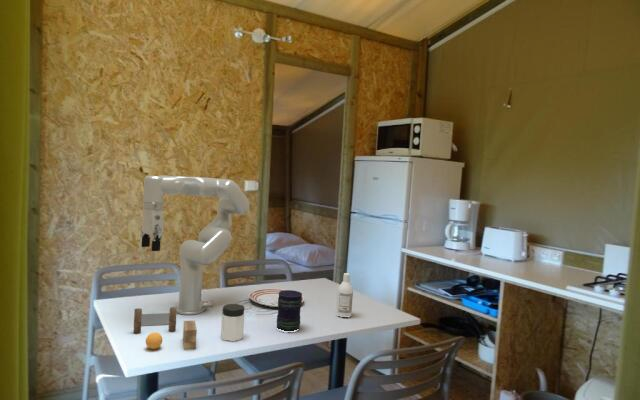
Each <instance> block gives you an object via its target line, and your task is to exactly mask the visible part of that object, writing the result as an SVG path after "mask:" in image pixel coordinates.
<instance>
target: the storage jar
mask: <svg viewBox="0 0 640 400" xmlns="http://www.w3.org/2000/svg"><path fill="white" fill-rule="evenodd" d="M283 290H284V291H280V292H279V297H278V308H277V311H278V312H277V316H276V327H277V328H278V329H281V330H284V331H294V330H297V329H299V328H300V327H301V308H302V303H303V302H302V296H303V293H302V292H300V291H298V290H292V289H290V290H289V289H283Z"/></svg>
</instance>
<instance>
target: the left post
mask: <svg viewBox="0 0 640 400" xmlns="http://www.w3.org/2000/svg"><path fill="white" fill-rule="evenodd" d="M142 312H143V309H142V308H139V307H138V308H134V312H133V314H134V315H133V316H134V317H133V334H134V335H139V334H141V333H142V326H141V318H142V314H143V313H142Z"/></svg>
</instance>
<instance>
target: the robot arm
mask: <svg viewBox="0 0 640 400" xmlns="http://www.w3.org/2000/svg"><path fill="white" fill-rule="evenodd" d="M143 181H144V183H143V184H144V185H143V195H142V196H143V197H142V198H143V201H142V211H143V213H142V222H141V247H142V248H147V247H150V246H151V252H160V251H161V241H162V237H163V236H162V235H164V234H163V233H164V214H163V211H164V210H163V209H164V194H165V195H166V194H167V195H174V196H176V195H179V194H180V195H185V196H192V197H209V198H211V197H212V198H213V197H214V198H219V200H218V202H217V214H216V216H215V218H214V219H212V220H211V222H209V223H208V224H207V225H206V226H205V227H204V228H202V229H201V231H200V232H199V234H198V236H197V239H198V240H194V239H188V240H185V241H183V242H182V243H181V244H180V246H179V249H178V256H179V263H180V265H179V266H180V272H179V289H178V290H179V292H178V293H179V294H178V305H176V306H175V307H176V308H177V313H176V314H179V315H186V316H189V315H191V316H192V315H198V314H202V313H203V312H204V311H205V307H206V308H207V307H208V308H209V307H212V306H213V305H212V302H211V301H210V302H209V301H208V300H207V301H203V299H202V292H203V291H202V289H203V274H204V273H203V266H208V265H210V264H213V262H215V261H216V260H217V259H218V258H219V257H220V256H221V255H222V254H223V253H224V252H225V251H227V249H228V248H229V247H230V245H231V242H232V240H233V239H232V238H233V237H232V233H231V232H230V229H231V227H232V224H233V223H232V219H233V218H232V215H237V216H244V215H246V214H247V213H248V212H249V211H250V206H251V204H250V201H249V199H248V198H247V196H246V195H245V193H244V192H243V190H242V189H241V187H240V186H239V185H238V184H237V183H236V182H235V181H234V180H233V179H224V178H214V177H201V176H175V175H146V176H145V177H144V180H143ZM150 236H151V237H152V241H151V237H150ZM150 243H151V244H150Z"/></svg>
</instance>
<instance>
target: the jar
mask: <svg viewBox="0 0 640 400" xmlns="http://www.w3.org/2000/svg"><path fill="white" fill-rule="evenodd" d="M220 327H221V328H220V337H221V340H222V341H225V340H230V341H229V342H232V341H234V342H237V341H240V340H239V339H241V340H243V339H244V329H245V306H244V305H242V304H239V303H228V304H225V305H223V306H222V312H221V326H220ZM242 338H243V339H242ZM236 340H237V341H236Z"/></svg>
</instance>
